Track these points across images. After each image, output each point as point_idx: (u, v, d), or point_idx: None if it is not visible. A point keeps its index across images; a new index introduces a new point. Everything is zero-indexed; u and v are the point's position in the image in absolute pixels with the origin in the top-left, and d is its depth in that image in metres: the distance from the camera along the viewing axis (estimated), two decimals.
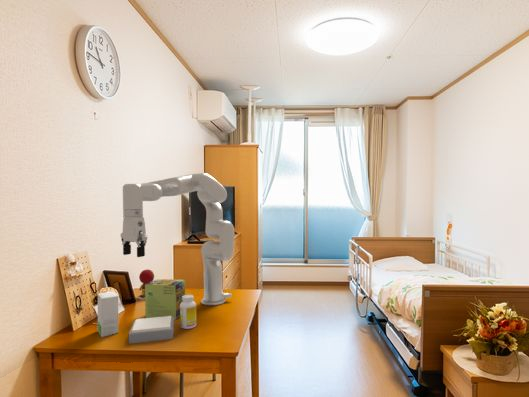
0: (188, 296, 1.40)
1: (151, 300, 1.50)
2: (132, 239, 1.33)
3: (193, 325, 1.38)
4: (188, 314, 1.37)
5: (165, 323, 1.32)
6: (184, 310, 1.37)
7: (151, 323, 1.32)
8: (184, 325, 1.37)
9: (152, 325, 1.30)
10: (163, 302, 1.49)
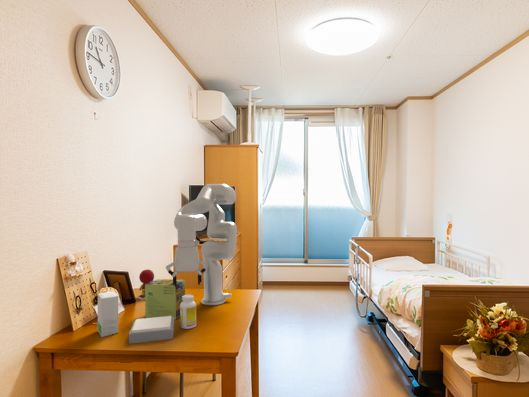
0: (188, 296, 1.40)
1: (151, 300, 1.50)
2: (193, 268, 1.38)
3: (193, 325, 1.38)
4: (188, 314, 1.37)
5: (165, 323, 1.32)
6: (184, 310, 1.37)
7: (151, 323, 1.32)
8: (184, 325, 1.37)
9: (152, 325, 1.30)
10: (163, 302, 1.49)
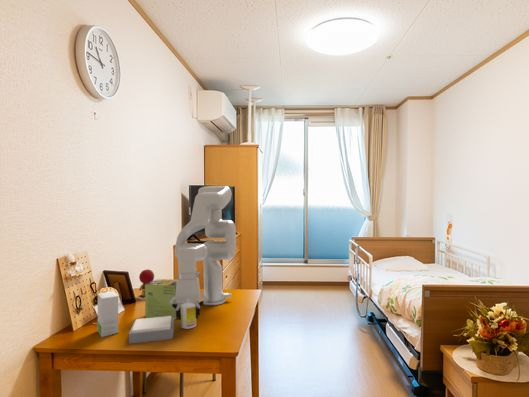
0: None
1: (151, 300, 1.50)
2: (193, 300, 1.39)
3: (193, 325, 1.38)
4: (189, 314, 1.37)
5: (165, 323, 1.32)
6: (184, 310, 1.37)
7: (151, 323, 1.32)
8: (184, 325, 1.37)
9: (152, 325, 1.30)
10: (163, 302, 1.49)
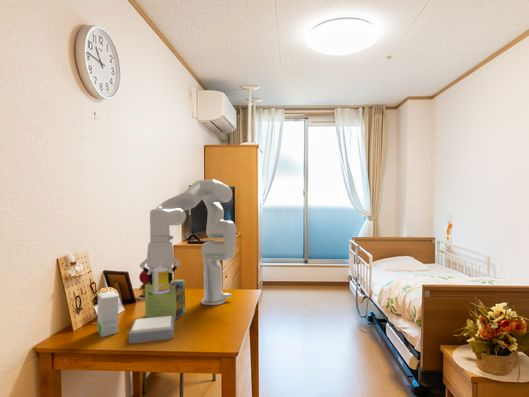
0: None
1: (151, 300, 1.50)
2: (166, 264, 1.33)
3: (165, 290, 1.33)
4: (160, 278, 1.32)
5: (165, 323, 1.32)
6: (155, 274, 1.31)
7: (151, 323, 1.32)
8: (156, 290, 1.31)
9: (152, 325, 1.30)
10: (163, 302, 1.49)
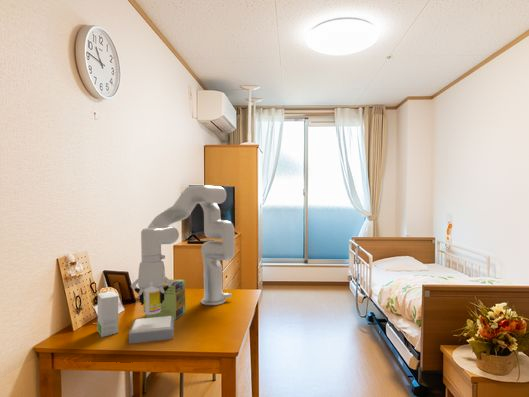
0: None
1: None
2: (157, 284, 1.32)
3: (157, 311, 1.31)
4: (152, 299, 1.30)
5: (165, 323, 1.32)
6: (147, 294, 1.30)
7: (151, 323, 1.32)
8: (147, 310, 1.30)
9: (152, 325, 1.30)
10: (163, 302, 1.49)
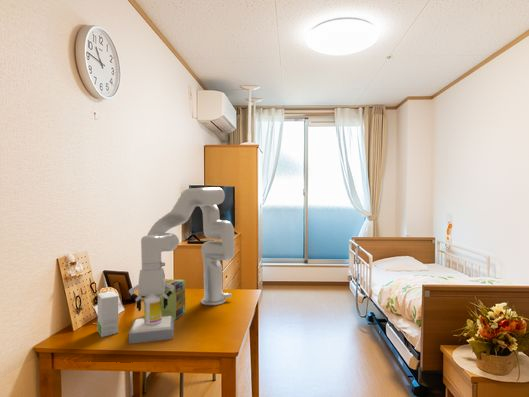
0: None
1: None
2: (157, 292, 1.32)
3: (157, 321, 1.31)
4: (152, 309, 1.30)
5: (165, 323, 1.32)
6: (147, 305, 1.30)
7: None
8: (148, 321, 1.30)
9: (152, 325, 1.30)
10: (163, 302, 1.49)
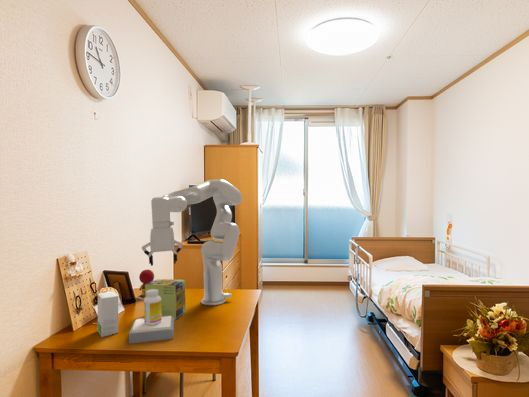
0: (152, 291, 1.33)
1: None
2: (168, 248, 1.44)
3: (157, 321, 1.31)
4: (152, 310, 1.30)
5: (165, 323, 1.32)
6: (147, 305, 1.30)
7: None
8: (148, 321, 1.30)
9: (152, 325, 1.30)
10: (163, 302, 1.49)
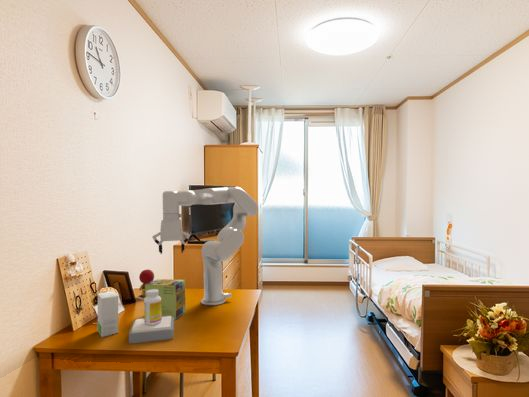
0: (152, 291, 1.33)
1: None
2: (176, 238, 1.56)
3: (157, 321, 1.31)
4: (152, 310, 1.30)
5: (165, 323, 1.32)
6: (147, 305, 1.30)
7: None
8: (148, 321, 1.30)
9: (152, 325, 1.30)
10: (163, 302, 1.49)
